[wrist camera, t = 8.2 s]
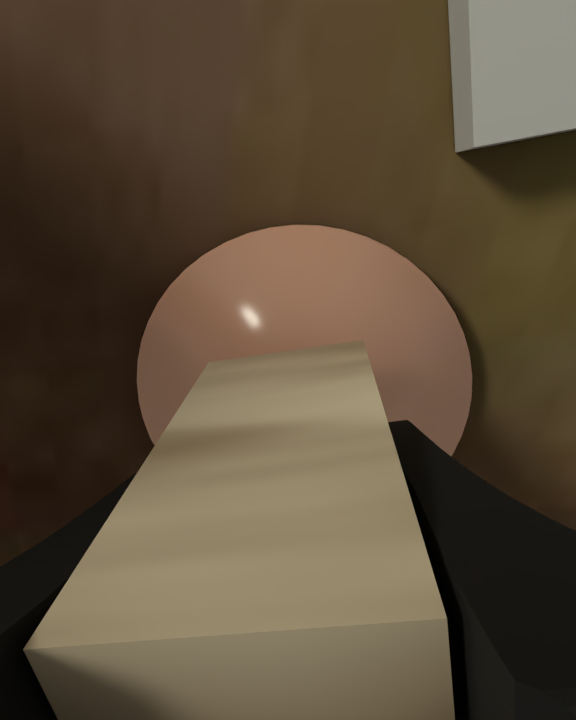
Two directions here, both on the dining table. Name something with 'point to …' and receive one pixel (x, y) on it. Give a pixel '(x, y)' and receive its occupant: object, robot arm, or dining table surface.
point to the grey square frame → (512, 70)
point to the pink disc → (310, 323)
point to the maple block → (257, 564)
